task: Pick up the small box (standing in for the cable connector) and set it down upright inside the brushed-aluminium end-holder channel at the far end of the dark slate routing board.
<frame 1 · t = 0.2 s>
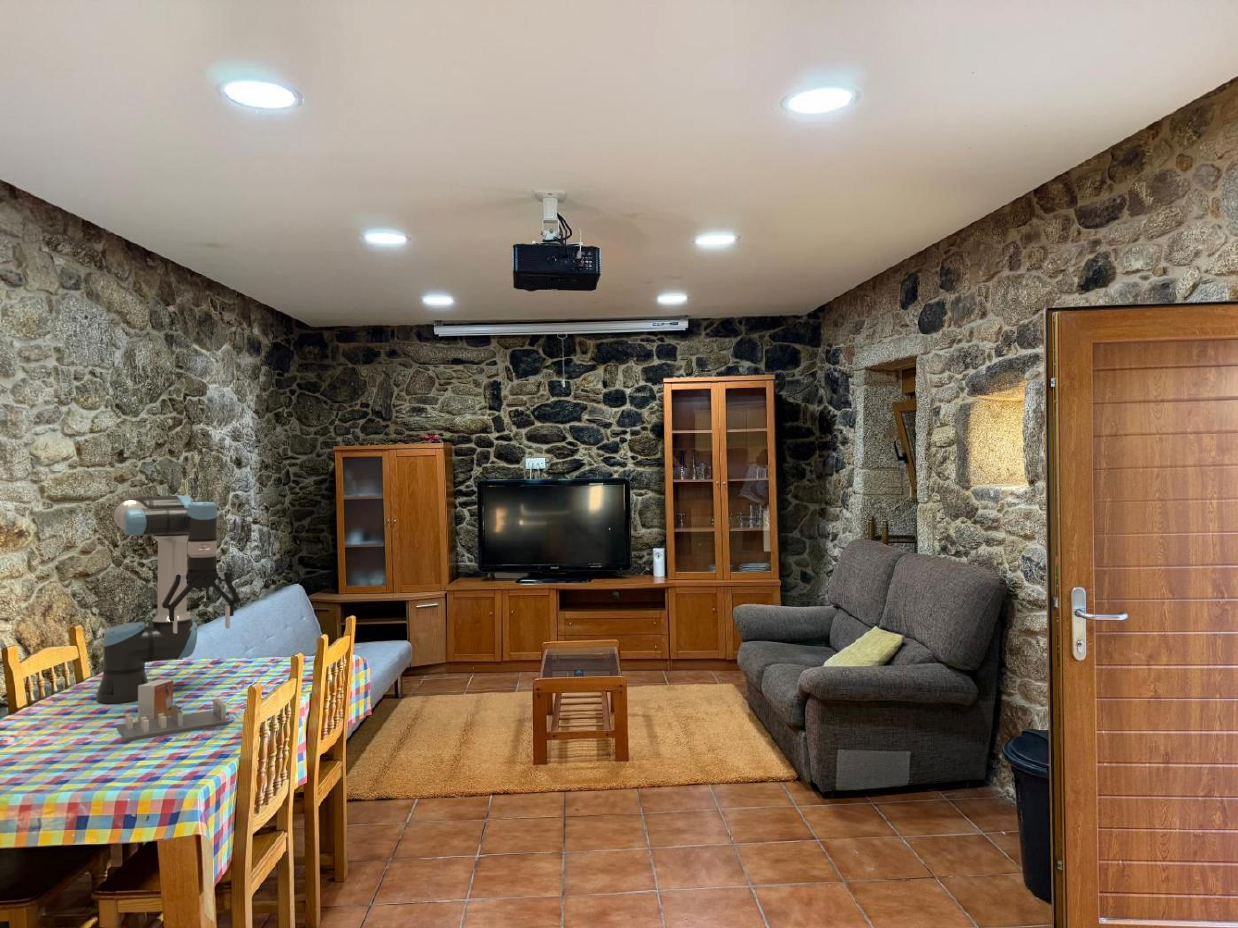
hand: (201, 630, 246), 27 cm above the table, fingers open, 13 cm apart
small box: (155, 718, 253), on the table
end holder: (198, 722, 248), resting on route board
route board: (173, 726, 245), on the table
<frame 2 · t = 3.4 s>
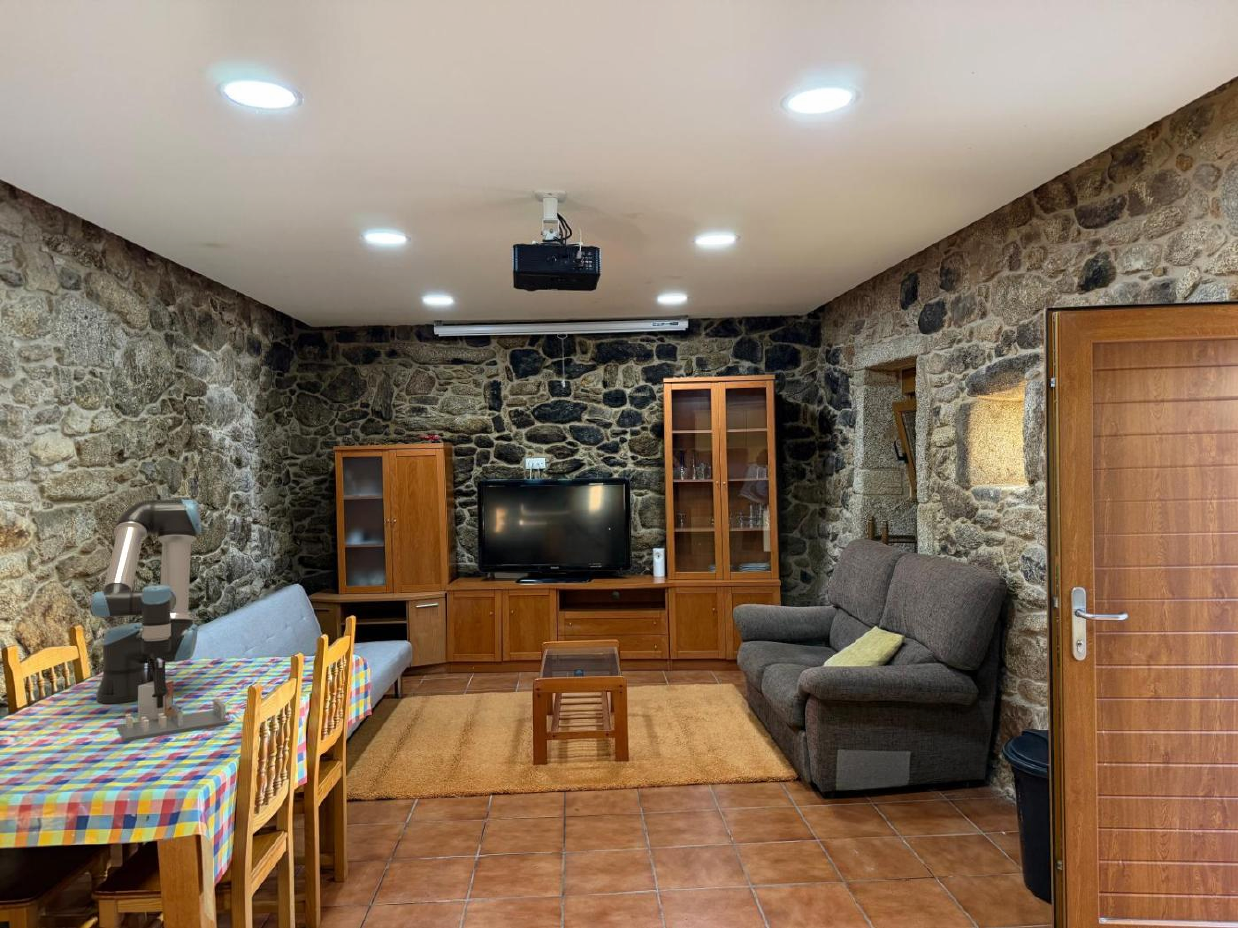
hand: (155, 714, 252), 1 cm above the table, fingers open, 10 cm apart
small box: (155, 719, 253), on the table, touching gripper, route board
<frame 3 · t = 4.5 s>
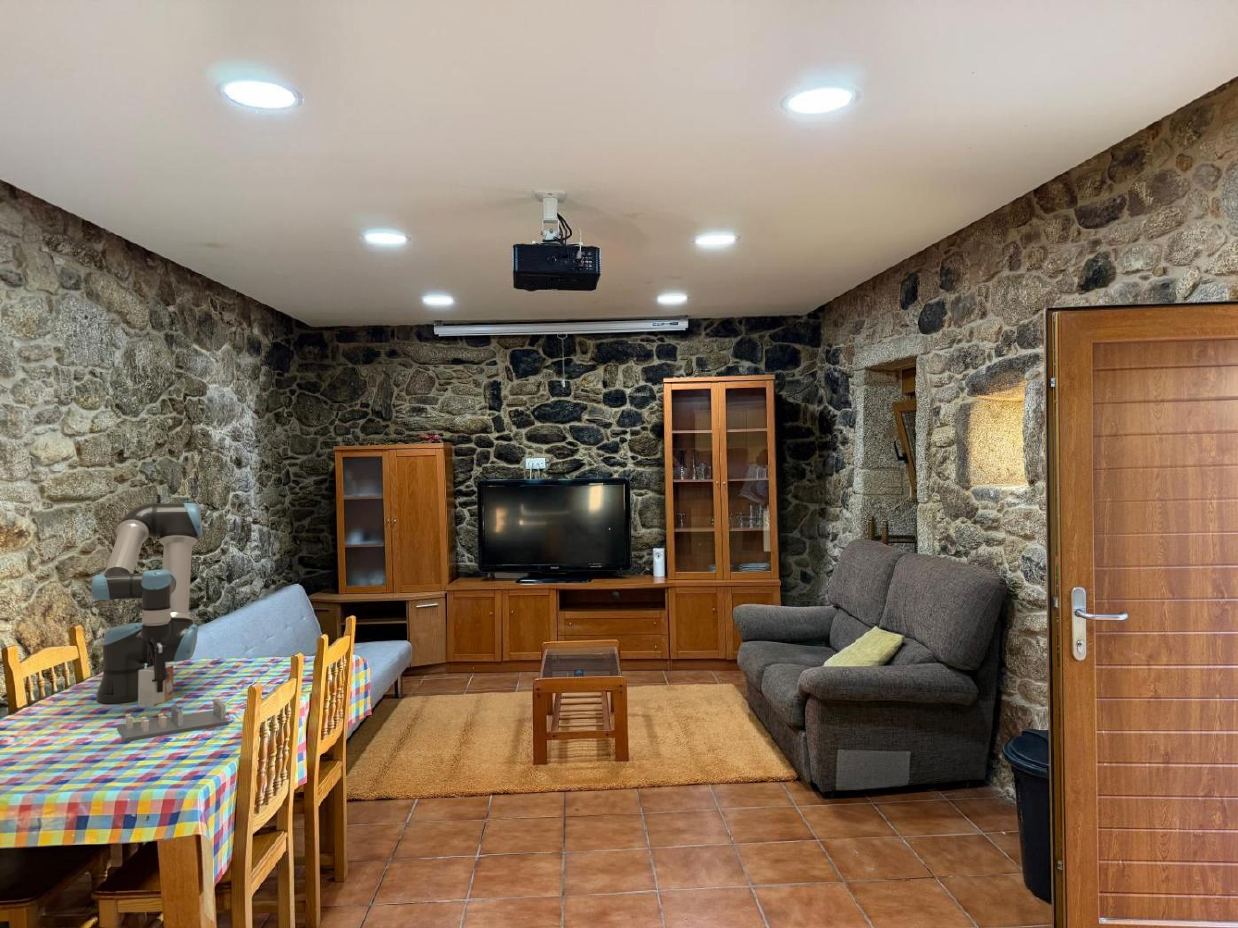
hand: (156, 698, 254), 6 cm above the table, fingers closed on small box, 9 cm apart
small box: (155, 703, 254), point 4 cm above the table, touching gripper
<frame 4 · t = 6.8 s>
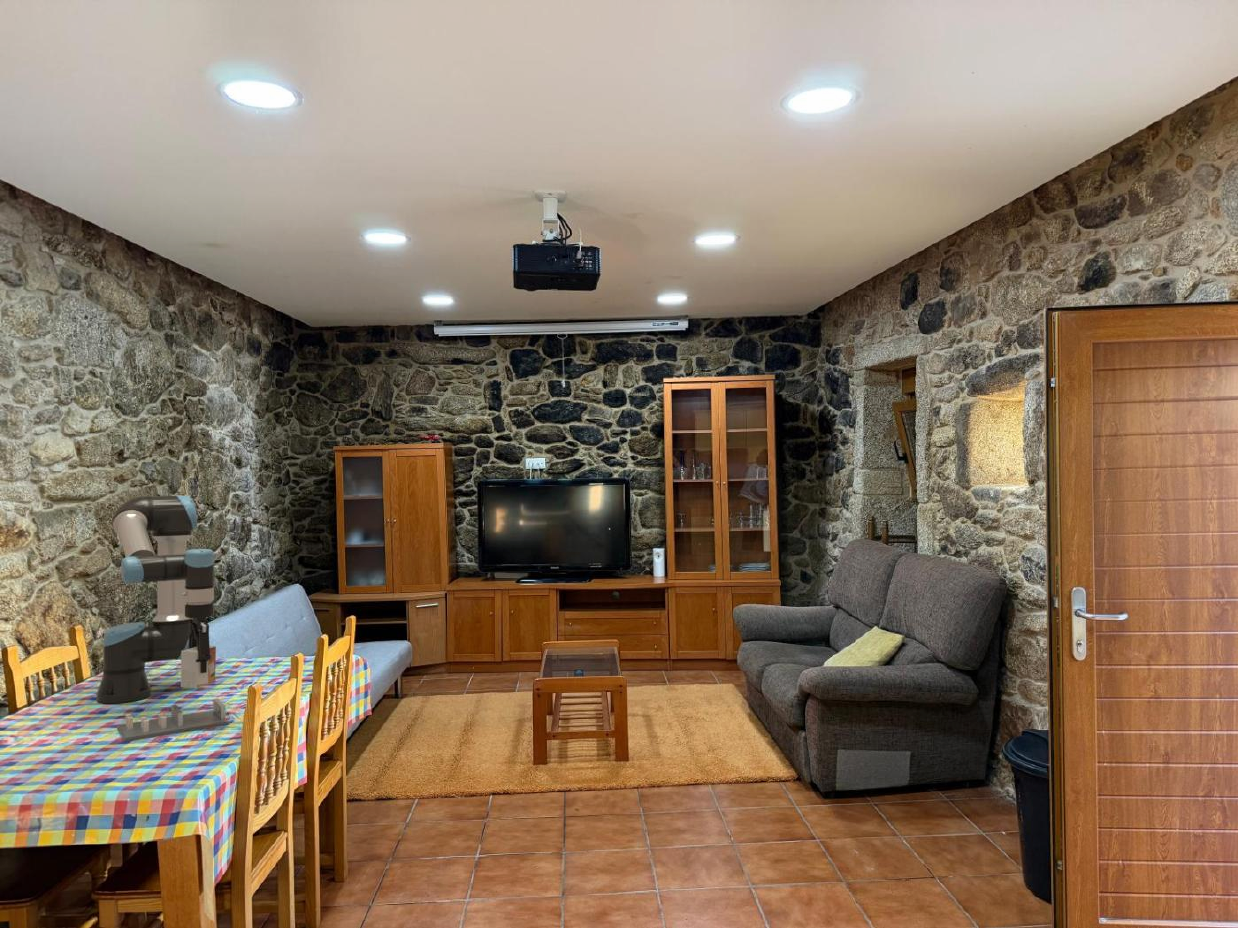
hand: (198, 680, 248), 12 cm above the table, fingers closed on small box, 9 cm apart
small box: (198, 685, 248), point 11 cm above the table, touching gripper
when the fingers open (3 cm above the table, at t = 9.1 s): small box drops 1 cm, resting on route board.
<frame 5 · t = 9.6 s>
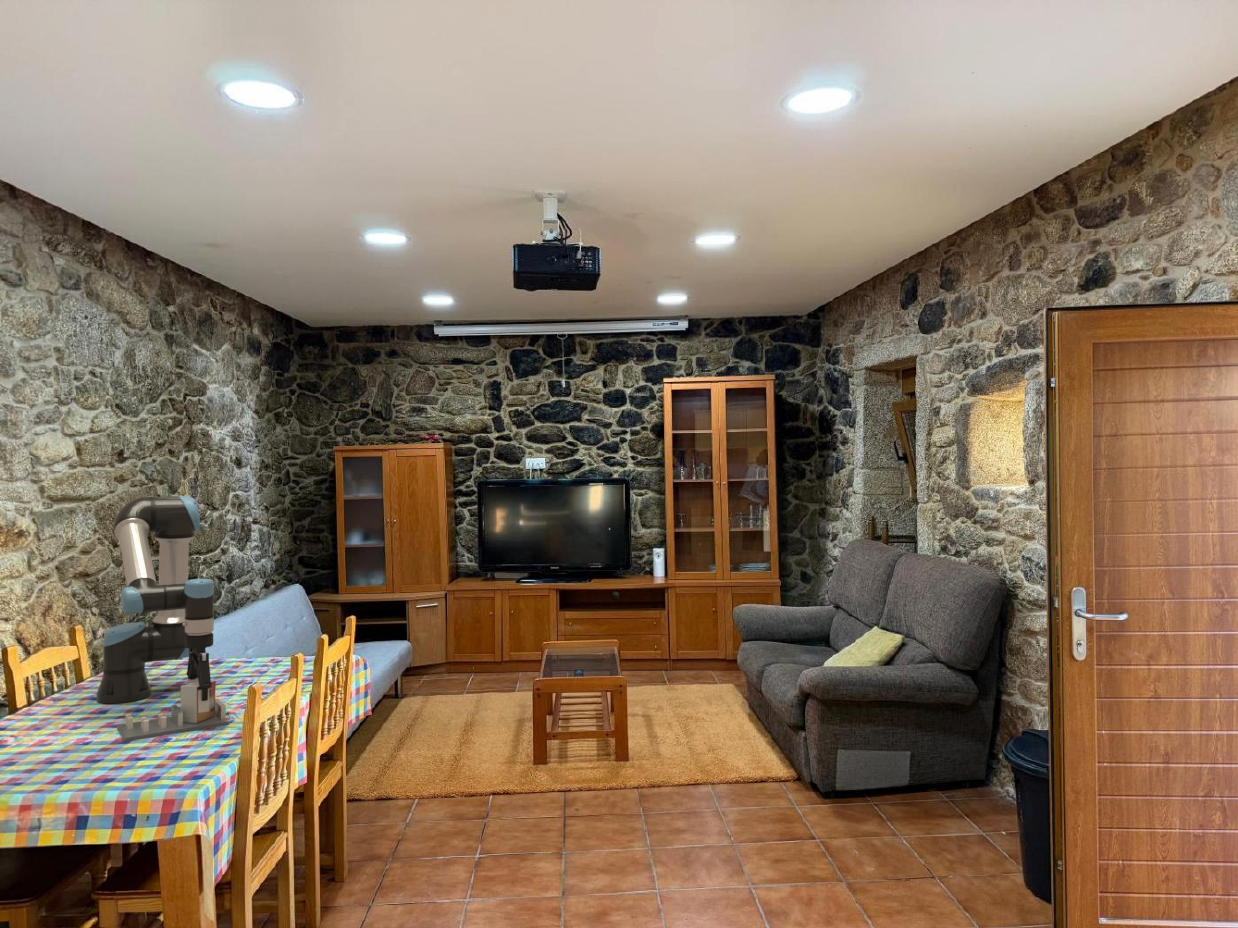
hand: (198, 706, 248), 5 cm above the table, fingers open, 13 cm apart
small box: (198, 719, 248), point 1 cm above the table, touching route board
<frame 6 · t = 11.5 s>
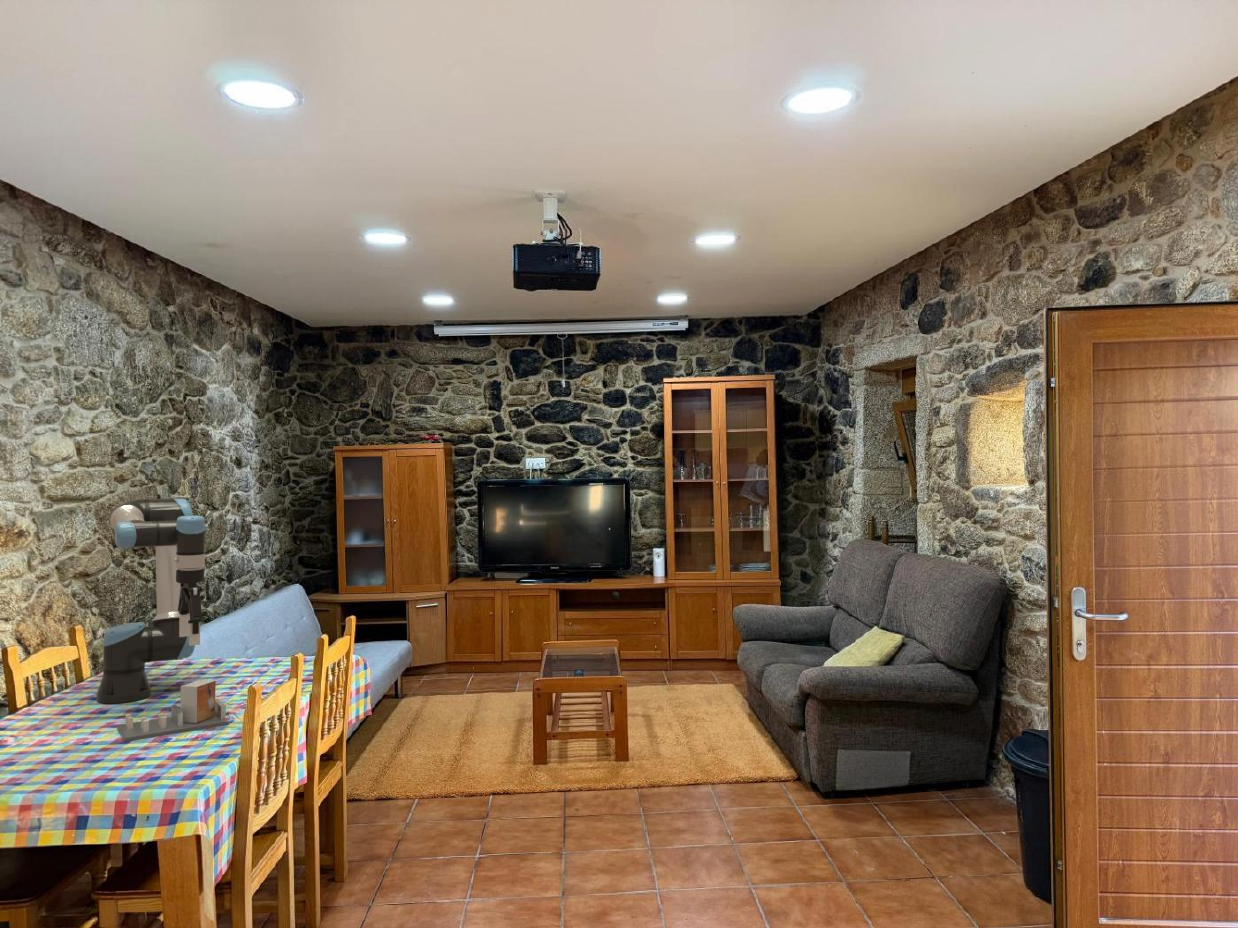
hand: (189, 640, 253), 23 cm above the table, fingers open, 13 cm apart
nothing on the table moved.
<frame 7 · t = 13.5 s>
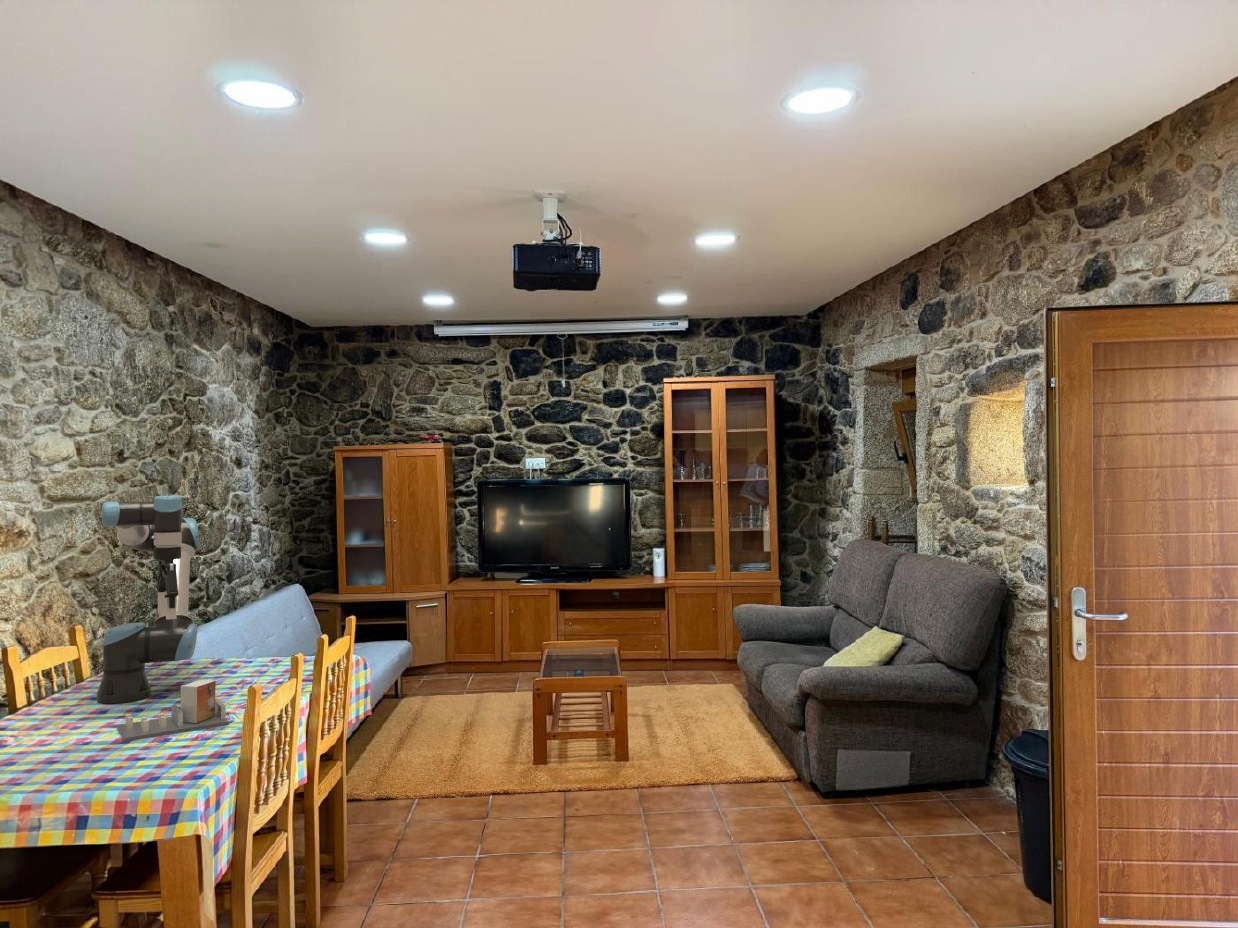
hand: (166, 616, 261), 29 cm above the table, fingers open, 13 cm apart
nothing on the table moved.
at the end: small box inside the target area (0.3 cm from its centre), point 0.8 cm above the table; small box tilted 0°; the gripper is holding nothing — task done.
